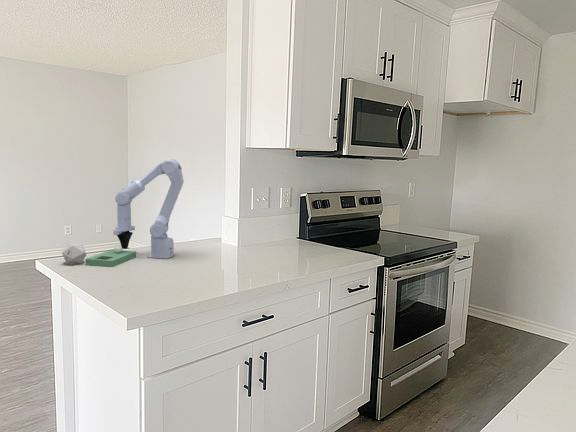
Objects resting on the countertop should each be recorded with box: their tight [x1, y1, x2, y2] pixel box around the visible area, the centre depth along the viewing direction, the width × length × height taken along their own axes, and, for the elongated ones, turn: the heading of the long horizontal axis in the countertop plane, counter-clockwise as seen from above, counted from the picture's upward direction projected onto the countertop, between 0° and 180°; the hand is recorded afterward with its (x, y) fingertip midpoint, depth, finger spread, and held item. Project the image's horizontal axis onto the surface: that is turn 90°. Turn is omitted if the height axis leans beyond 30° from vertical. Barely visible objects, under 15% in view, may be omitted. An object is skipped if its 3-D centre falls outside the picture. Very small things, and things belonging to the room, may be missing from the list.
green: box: [84, 249, 137, 268], centre depth 195 cm, size 12×19×2 cm, turn 169°
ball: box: [113, 244, 123, 253], centre depth 199 cm, size 4×4×4 cm
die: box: [61, 243, 87, 265], centre depth 189 cm, size 8×9×10 cm
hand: (124, 248), depth 205 cm, fingers closed
